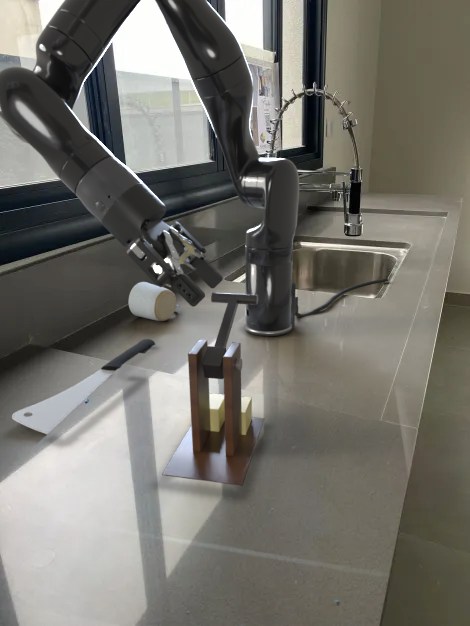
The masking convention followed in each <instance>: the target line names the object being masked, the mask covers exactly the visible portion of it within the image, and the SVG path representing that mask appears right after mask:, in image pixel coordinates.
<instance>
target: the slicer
mask: <svg viewBox="0 0 470 626" xmlns="http://www.w3.org/2000/svg"><path fill="white" fill-rule="evenodd" d="M241 345H242V344H241V342H237V341H232V342H231V344H230V346H229V347H228V348H227V349H226V351H227V352H226V353H225V355H224V356H223V370H224V378H223V395H224V409H225V421H224V423H223V425H222V427H221V429H220V431H219V432H215V431H211V427H210V400H209V393H210V378H205V376H204V371H203V367H202V362H203V359H204V356H205V353H206V350H207V347H208V346H209V344H208V340H207V339H199V340H198V341H197V342H196V344H194V345H193V347H192V348H191V349H190V350H189V352H188V353H187V364H188V382H189V383H188V385H189V402H190V403H189V404H190V405H189V406H190V417H191V418H190V420H191V425H190V426H189V428H188V430H187V431H186V434H185V435H184V436H183V438H182V440H181V442H180V443H179V445H178V446H177V448H176V450H175V452H174V453H173V455H172V457H171V458H170V460H169V461H168V464H167V465H166V467H165V469H164V470H163V472H162V473H161V475H162V476H167V477H174V478H175V477H176V478H182V479H189V480H197V481H198V480H199V481H204V482H212V483H218V484H226V485H233V486H243V483H244V481H245V478H246V474H247V472H248V470H249V466H250V463H251V461H252V457H253V454H254V452H255V448H256V446H257V444H258V439H259V437H260V434H261V430H262V427H263V425H264V421H265V418H264V417H263V418H262V417H256V416H252V420H251V422H250V425H249V427H248V430H247V433H246V435H242V411H241V396H242V368H243V358H242V351H241V350H242V349H241V348H242V346H241Z"/></svg>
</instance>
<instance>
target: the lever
mask: <svg viewBox="0 0 470 626" xmlns="http://www.w3.org/2000/svg"><path fill="white" fill-rule="evenodd" d="M210 301H211V303H213V304H214V303H215V304H226V307H225V311H224V314H223V317H222V321H221V324H220V327H219V330H218V333H217V337H216V340H215V343H214V346H212V345H211V346H210V345H208V347H207V350H206V353H205V356H204V359H203V362H202V367H203V371H204V376H205V378H209V379H214V380H215V379H217V380H224V370H223V356H224V355H225V353H226V352H227V344H228V341H229V338H230V334H231V331H232V327H233V325H234V320H235V317H236V313H237V310H238V307H239V305H246V304H249V305H257V304H258V295H254V294H246V293H234V292H233V293H230V292H215V291H214V292H213V291H212V293H211V294H210Z"/></svg>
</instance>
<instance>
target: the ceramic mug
mask: <svg viewBox="0 0 470 626" xmlns="http://www.w3.org/2000/svg"><path fill="white" fill-rule="evenodd" d="M128 307H129V311H130V312H131V313H132V315H134V316H136V317H141V318H143V319H147V320H148V319H149V320H153V321H157V322H164V321H165V322H166V321H168V320H170V318H172V317H173V315H174V313H179V312H180V309H181V308H180V307H181V306H180V305H179V304H177V298H176V295H175V293H174V292H173V291H172V290H170V289H169V288H167V287H164V286H162V287H159V286H157V285H156V284H153V283H150V282H146V281H140V282H138V283H136V284H135V285H134V286H133V287H132V289H131V290H130V292H129V296H128Z"/></svg>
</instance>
